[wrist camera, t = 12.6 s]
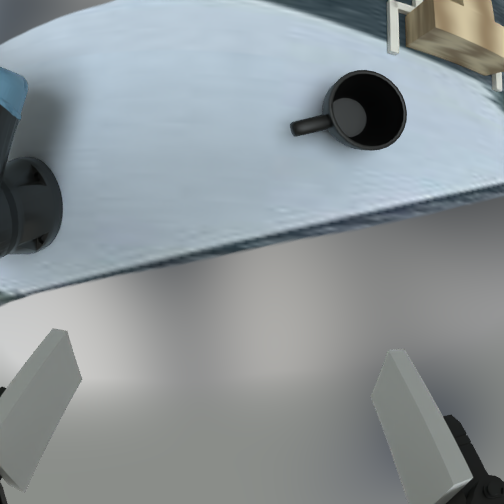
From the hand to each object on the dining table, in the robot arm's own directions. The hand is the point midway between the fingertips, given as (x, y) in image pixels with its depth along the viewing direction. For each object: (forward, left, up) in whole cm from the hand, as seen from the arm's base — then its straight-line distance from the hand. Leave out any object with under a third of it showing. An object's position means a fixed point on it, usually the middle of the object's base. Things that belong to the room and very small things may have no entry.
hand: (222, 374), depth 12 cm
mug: (+9, +13, -31) cm, 34 cm away
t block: (+25, +33, -30) cm, 51 cm away
